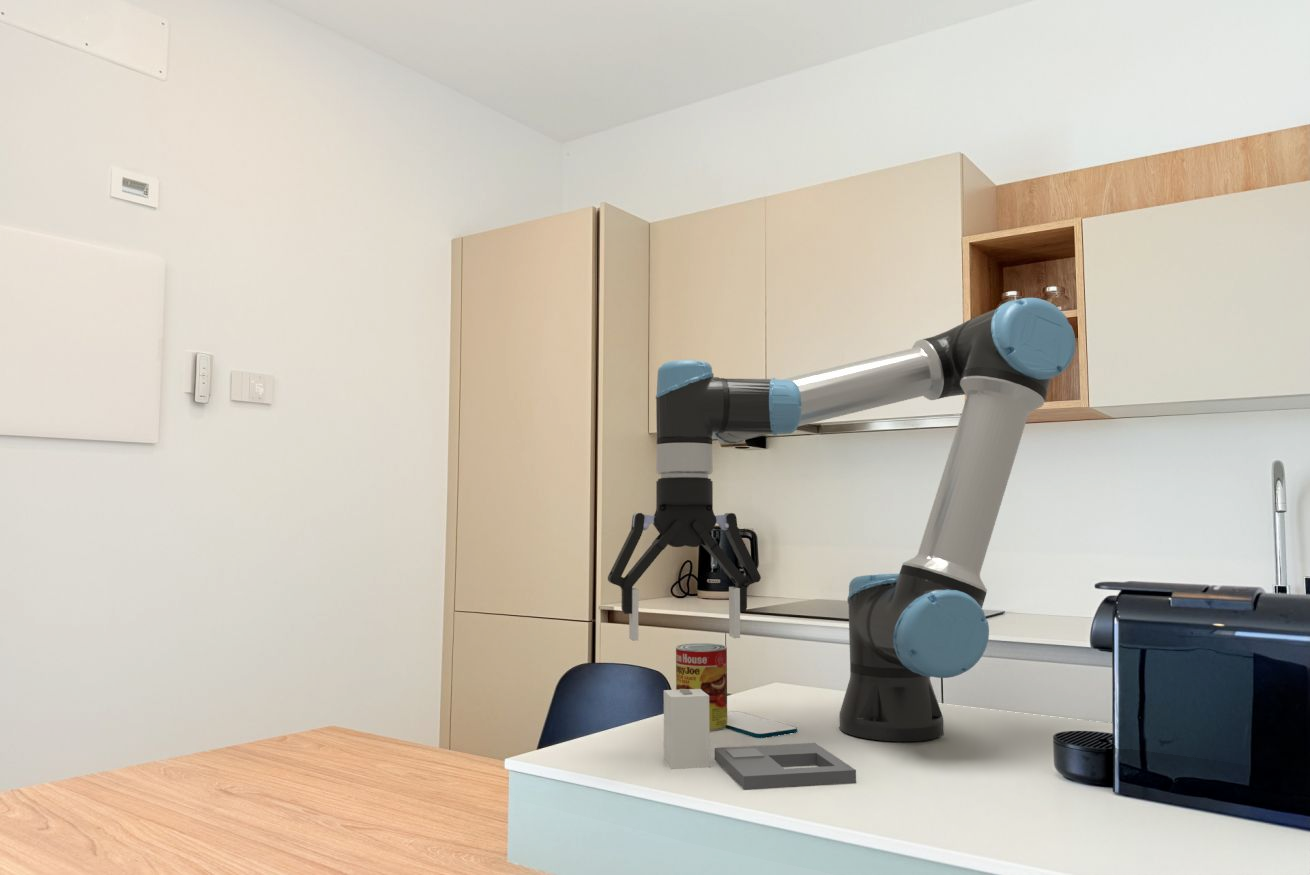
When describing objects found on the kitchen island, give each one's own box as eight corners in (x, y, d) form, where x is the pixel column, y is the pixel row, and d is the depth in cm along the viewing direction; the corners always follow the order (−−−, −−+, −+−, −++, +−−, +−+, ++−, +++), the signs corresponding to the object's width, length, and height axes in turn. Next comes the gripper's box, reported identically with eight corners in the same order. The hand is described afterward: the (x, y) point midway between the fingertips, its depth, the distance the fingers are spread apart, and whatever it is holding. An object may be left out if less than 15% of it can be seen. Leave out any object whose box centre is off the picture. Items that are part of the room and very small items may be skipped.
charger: (700, 757, 125) (700, 687, 126) (709, 767, 120) (709, 694, 121) (663, 759, 124) (663, 688, 125) (671, 769, 119) (671, 695, 120)
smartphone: (696, 722, 149) (758, 741, 136) (696, 716, 149) (758, 734, 136) (736, 716, 153) (800, 734, 140) (736, 710, 153) (800, 728, 140)
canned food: (666, 724, 145) (665, 645, 146) (705, 718, 150) (704, 641, 151) (698, 734, 139) (697, 651, 140) (738, 726, 143) (737, 647, 144)
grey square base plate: (815, 754, 127) (814, 741, 127) (856, 782, 113) (855, 768, 113) (714, 759, 124) (714, 746, 124) (743, 789, 110) (743, 774, 110)
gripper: (765, 478, 131) (767, 632, 130) (588, 477, 127) (587, 636, 125) (782, 476, 124) (784, 639, 122) (595, 474, 119) (594, 644, 118)
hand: (684, 638), depth 124 cm, fingers open, 13 cm apart
